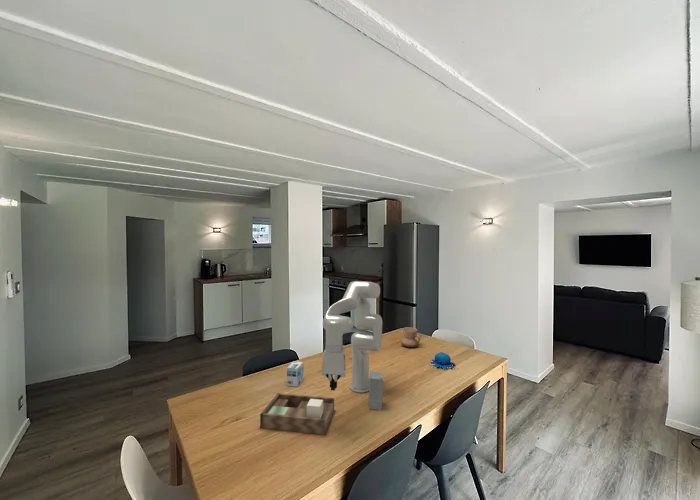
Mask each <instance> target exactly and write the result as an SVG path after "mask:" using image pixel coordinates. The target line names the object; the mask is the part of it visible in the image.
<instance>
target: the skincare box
mask: <svg viewBox="0 0 700 500" xmlns="http://www.w3.org/2000/svg"><path fill="white" fill-rule="evenodd" d="M369 378H370V388H369V391H368V408H369V410H381V411H382V410H383V394H384V393H383V392H384V374H383V372H382V371H369Z"/></svg>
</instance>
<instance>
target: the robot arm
mask: <svg viewBox="0 0 700 500" xmlns="http://www.w3.org/2000/svg"><path fill="white" fill-rule="evenodd" d="M380 294H381V286H380V285H379V284H378V283H377V282H376V283H375V282H372V281H363V280H362V281H361V280H354V281H351V282H349V284H348V286H347V287H346V290H345V292H344V295H343V297H342V299H339V300H338V301H336V302H335V303H333V304H332V305H330V306H329V308H328V309H327V311H326V312H325V315H324V317H323V320H322V327H323V329H324V331H325V349H324V350H323V354H322V355H323V356H322V361H321V363H322V364H321V376H323V377H326V378H327V379H328V381H329V388H330V391H335V390H336V389H337V388H338V380H340V378H345V377H346V375H347V374H346V355H345V350H346V346H347V345H344V343H343V335H344V334H348V333H350V332H351V331H352V330H353V327H354V326H355V328H356V329H357V330H362V331H357V332H353V333H352V334H351V337H350V345H351V352H352V353H351V354H352V363H351V364H352V367H351V368H352V369H351V370H352V375H351V376H352V377H351V380H352V381H351V383H349V389H350V391H352V392H354V393H360V394H361V393H369V388H370V356H369V353H368V351H369V352H378V351H380V350H381V348H382V344H383V343H382V341H383V340H382V339H383V318H382V316H381V315H380V314H377V313H371V303H370V301H369V299H377V298H379V297H380ZM354 310H355V314H354V316H355V318H354V321H353V319H352V318H351V317H349V316H345V315H341V314H345V313H349V312H351V311H354ZM363 331H368V332H363ZM371 331H372V333H371ZM333 375H334V377H333Z"/></svg>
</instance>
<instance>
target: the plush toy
mask: <svg viewBox="0 0 700 500" xmlns="http://www.w3.org/2000/svg"><path fill="white" fill-rule="evenodd" d="M431 360H432V361H433V362H431V361H430V362H429V364H430V363H431V364H435V365H434V366H435V367H440V368H441V367H442V368H444V369H447V367H451V368H454V369H455V366H456V363H455V362H453V361H451V360H452V359H451V356H450V355H449V354H447V353H445V352H438V353H436V354H435V355H434V359H433V358H432V359H431ZM452 365H455V366H452ZM442 368H441V369H442ZM444 369H443V370H444ZM447 370H448V369H447Z"/></svg>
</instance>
